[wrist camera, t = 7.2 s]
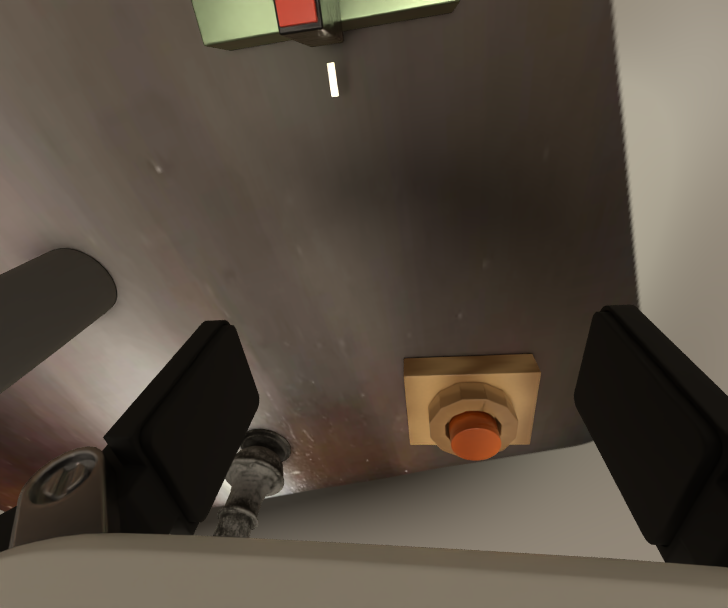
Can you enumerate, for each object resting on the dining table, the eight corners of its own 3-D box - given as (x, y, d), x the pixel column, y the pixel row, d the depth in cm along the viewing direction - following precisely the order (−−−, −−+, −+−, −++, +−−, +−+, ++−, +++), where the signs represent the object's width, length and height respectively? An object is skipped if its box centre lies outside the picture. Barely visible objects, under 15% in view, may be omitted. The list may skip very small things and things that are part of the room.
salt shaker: (279, 423, 36) (229, 560, 25) (302, 461, 38) (265, 598, 28) (227, 431, 37) (160, 564, 27) (253, 466, 40) (200, 600, 29)
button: (497, 409, 27) (503, 428, 25) (495, 441, 29) (500, 460, 27) (448, 409, 27) (450, 428, 26) (448, 441, 29) (451, 460, 28)
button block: (532, 353, 28) (549, 390, 25) (522, 423, 32) (536, 463, 29) (403, 358, 30) (403, 393, 26) (409, 425, 34) (410, 463, 31)
